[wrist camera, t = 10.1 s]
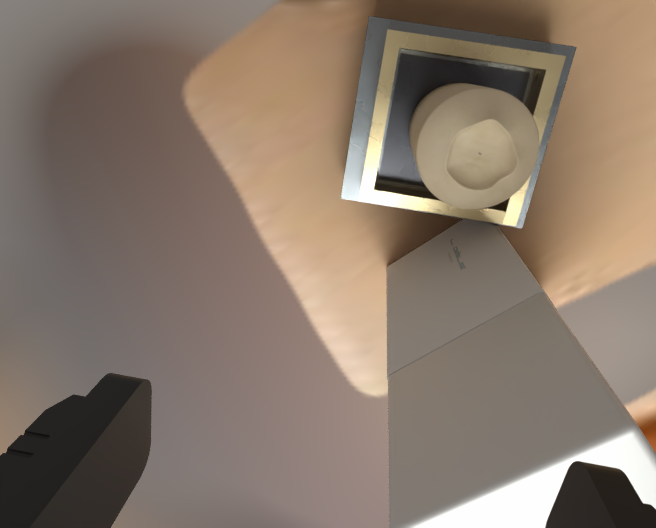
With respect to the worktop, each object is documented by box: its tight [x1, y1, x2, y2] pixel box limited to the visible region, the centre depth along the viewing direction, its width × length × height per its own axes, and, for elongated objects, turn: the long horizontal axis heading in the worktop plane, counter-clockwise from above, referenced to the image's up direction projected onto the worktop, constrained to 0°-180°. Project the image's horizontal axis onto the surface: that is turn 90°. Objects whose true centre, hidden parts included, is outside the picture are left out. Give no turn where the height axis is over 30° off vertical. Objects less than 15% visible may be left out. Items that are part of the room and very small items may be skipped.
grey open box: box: [341, 16, 576, 228], centre depth 32 cm, size 12×11×8 cm
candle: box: [409, 83, 539, 209], centre depth 26 cm, size 6×6×10 cm
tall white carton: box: [386, 219, 656, 528], centre depth 29 cm, size 9×9×25 cm
